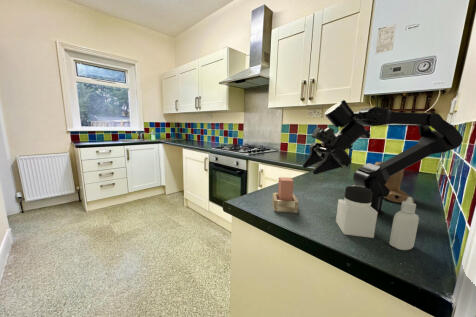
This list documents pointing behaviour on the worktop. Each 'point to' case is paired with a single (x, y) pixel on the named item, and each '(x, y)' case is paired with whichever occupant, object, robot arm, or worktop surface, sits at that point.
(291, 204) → the birch collar
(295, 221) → the worktop surface
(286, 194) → the red peg
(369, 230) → the medicine bottle
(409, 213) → the eye dropper bottle
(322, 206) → the worktop surface
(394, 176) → the brown angle bracket
